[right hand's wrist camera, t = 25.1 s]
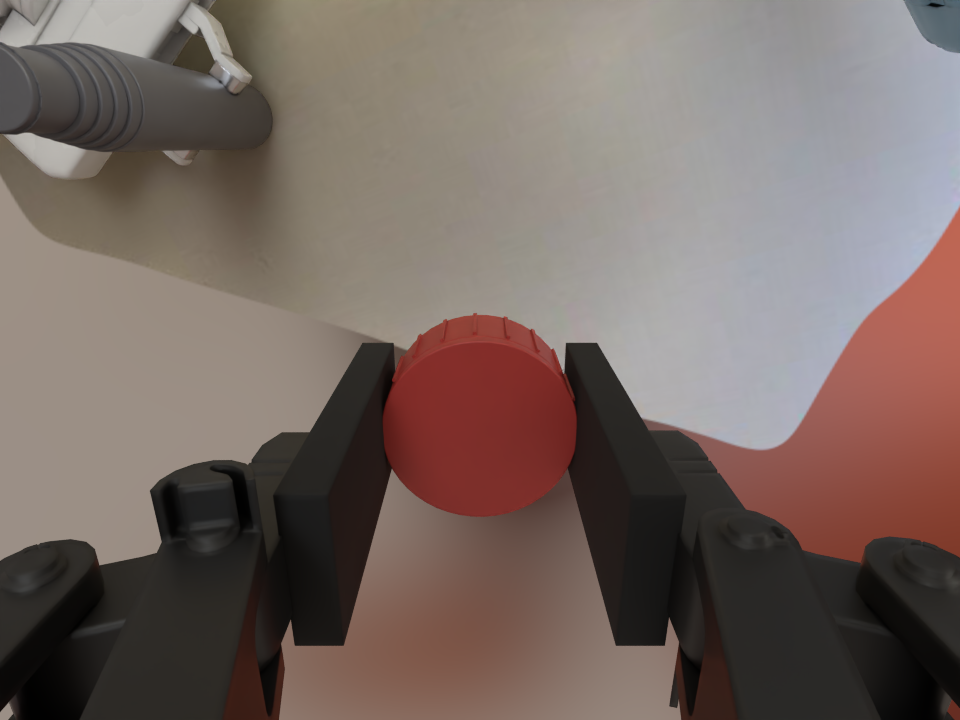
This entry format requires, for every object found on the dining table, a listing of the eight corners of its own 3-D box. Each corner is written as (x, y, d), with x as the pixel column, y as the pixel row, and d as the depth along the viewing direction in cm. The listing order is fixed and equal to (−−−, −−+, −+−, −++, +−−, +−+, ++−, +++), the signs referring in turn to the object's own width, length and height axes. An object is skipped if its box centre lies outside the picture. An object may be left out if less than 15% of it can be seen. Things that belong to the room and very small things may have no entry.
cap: (456, 275, 13) (452, 296, 11) (604, 377, 14) (623, 411, 12) (359, 415, 15) (341, 455, 13) (500, 500, 15) (502, 549, 14)
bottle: (259, 75, 43) (14, -2, 20) (281, 141, 44) (76, 137, 22) (200, 91, 43) (-104, 33, 21) (224, 155, 45) (-35, 167, 22)
